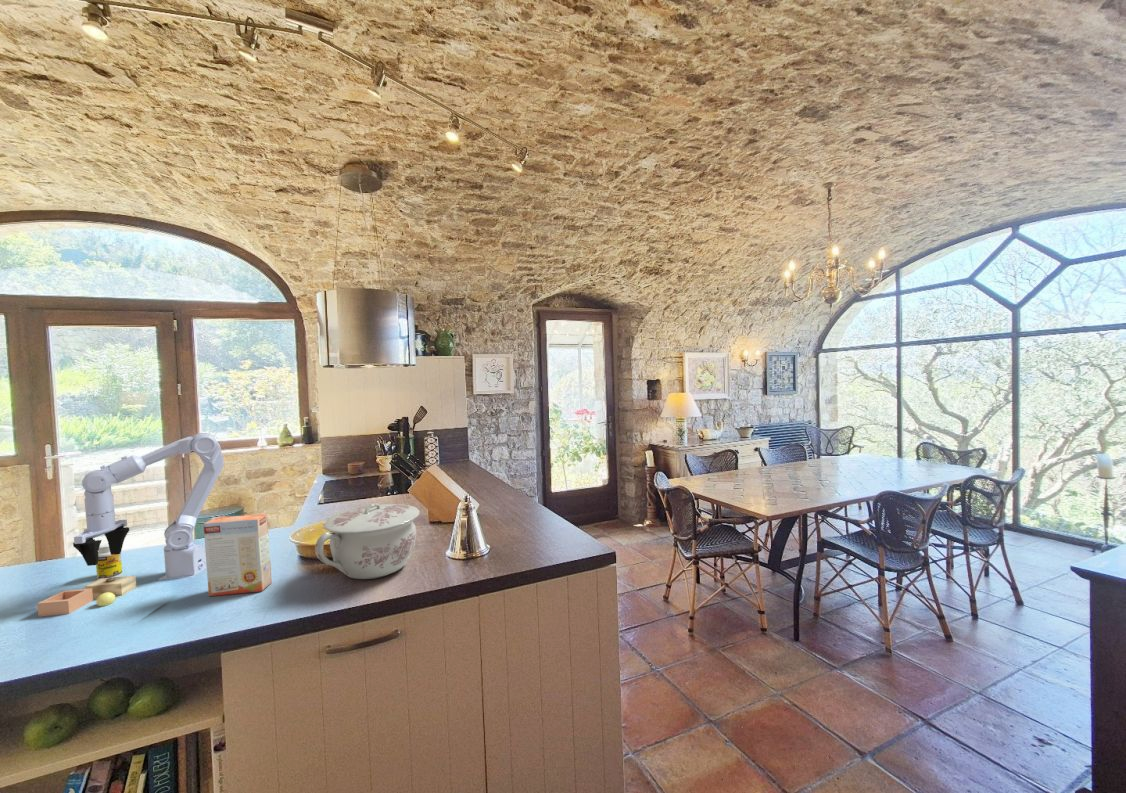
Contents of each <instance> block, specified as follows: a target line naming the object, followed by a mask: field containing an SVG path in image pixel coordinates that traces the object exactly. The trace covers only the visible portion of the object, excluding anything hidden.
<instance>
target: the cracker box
mask: <svg viewBox="0 0 1126 793" xmlns="http://www.w3.org/2000/svg"><path fill="white" fill-rule="evenodd" d="M268 523H269V522H268V514H267V513H260V514H259V513H258V514H248V515H247V514H246V515H233V516H219V517H214V518H212V519H210V520H208V521H206V522H204V523H203V532H204V533H203V535H204V537H203V538H204V548H205V553H206V566H207V568H206V578H207V589H208V597H214V596H225V595H236V594H245V593H248V594H249V593H259V592H263V591H264V590H265V589H267V587H269V586H270V585H271V584H272V583H273V582H272V567H271V565H272V564H271V554H270V553H271V552H270V538H269V525H268Z"/></svg>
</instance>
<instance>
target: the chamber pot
mask: <svg viewBox="0 0 1126 793" xmlns="http://www.w3.org/2000/svg"><path fill="white" fill-rule="evenodd" d="M420 513H421V510H419V508H417V507H416V506H413V505H411V504H402V503H378V502H376V503H375V502H374V503H371V504H369V505H365V506H364V505H363V506H360V507H359V506H358V507H355V508H352V509H348V510H345V511H343V512H339V513H337V514H335V515H332V516H330V517H329V518H327V519H326V520H325V522H324V523H322V526H323V529H325V531H324V532H323V533H322V534H321V535H320V536H319V537H318V538H317V540H316V543H315V546H314V548H315V549H314V551H315V556H316V558H317V559H318V561H319V560H320V562H322V563H323V564H325V565H327V566H330V567H334V568H335V569H337V570H338V571H340V572H341V573H343V574H344V575H345V576H347V577H348V578H350V579H356V580H373V579H379V578H382V577H386V576H388V575H390V574H394V573H396V572H397V571H399V570H400V569H402V568H403V567H404V566H405V565H406V564H407V562H408V561H409V558H410V557H411V555H412V554H413V551H414V548H415V544H416V537H417V526H416V524H415V523H414V520H415V519H416V518H418V517H419V516H420ZM328 540H329V549H330V552H331V556H332V560H330V559H329V558H328V557H326V555H325V553H324V546H325V543H326V542H327V541H328Z"/></svg>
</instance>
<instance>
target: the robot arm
mask: <svg viewBox="0 0 1126 793" xmlns="http://www.w3.org/2000/svg"><path fill="white" fill-rule="evenodd" d="M191 451H192V452H194V454H196V455H197V456H198V457H199V459H200V460H201V462H202V464H203V467H202V469H201V471H200V473H199V475H198V477H197V478H196V481H195V483H194V485H193V486H192V488H191V490H190V492H189V495H188V496H187V498H186V500H185V502H184V503H183V506H182V507H181V510H180V512H179V513H178V514H177V516H176V517H175V519H174V521H172V523H171V524H169V525H168V526H167V527H166V528H165V530H164V533H163V535H164V538H165V540H164V541H165V544H166V545H165V546H164V547H163V555H164V556H163V557H164V568H165V575H164V576H162V577H160V578H158V581H163V580H174V579H185V578H192V577H194V576H196V575H197V574H199V573H200V572H203V571H204V570H206V569H207V565H206V551H205V545H201V544H195V542H194V541H195V540H193V532H194V528H195V527H196V524H197V519H198V517H199V515H200V513H201V511H202V509H203V507H204V506H205V503H206V501H207V499H208V498H209V495H210V493H211V491H212V489H213V487H214V485H215V483H216V481H217V480H218V477H219V476H220V474H221V472H222V470H223V468H224V466H225V461H224V456H223V453H222V448H221V445H220V443H219V442H218V440H217V439H216V438H215V437H213V436H212V435H210V434H209V433H205V432H200V433H197V434H194V435H193V436H187V437H184V438H181V439H179V440H178V439H177V440H176V441H173V442H171V443H169V444H166V445H164V446H162V447H159V448H158V449H155V450H153V451H150V452H148V453H146V454H145V455H141V456H138V455H130V456H128V455H124V456H122V457H120V460H117V461H115V462H113V463H110V464H107V465H105V464H104V465H101V466H100V467H99V469H94V470H91V471H90V472H88V473H87V474H85V476H84V477H83V480H82V482H81V486H82V488H83V489H84V492H83V493H84V494H83V496H84V497H85V498H84V500H83V501H84V510H85V511H84V512H85V520H86V522H85V523H86V528H85V529H83V531H82V533H80V534H78V535H75V536H73V541H74V542H73V543H72V545H73V547H74V548H75V549H76V550H77V551H78V552H79V553H80V554H81V556H82V558H83V560H84V561H85V563H86V565H87V567H88V566H90V567H91V566H96V565H97V564H98V552H99V546H101V543H102V539H98V540H96V539H95V538H97V537H99V536H103V535H104V536H105V538H106V540H107V543H108V544H109V549H110V553H111V555H116V554H121V555H122V550H123V546H124V541H125V539H126V536H127V535H128V533H129V531H130V527H128V520H127V519H119V520H116V514H115V503H114V494H113V493H112V485H113V484H119V483H122V482H125V481H126V480H129V479H131V478H133V477H136V476H138V475H141V474H142V473H144V472H145V470H146V468H147V467H148V466H151V465H153V464H155V463H158V462H160V461H163V460H166V459H168V458H170V457H172V456H176V455H179V454H186V455H187V454H188V455H191V454H192V452H191Z"/></svg>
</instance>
